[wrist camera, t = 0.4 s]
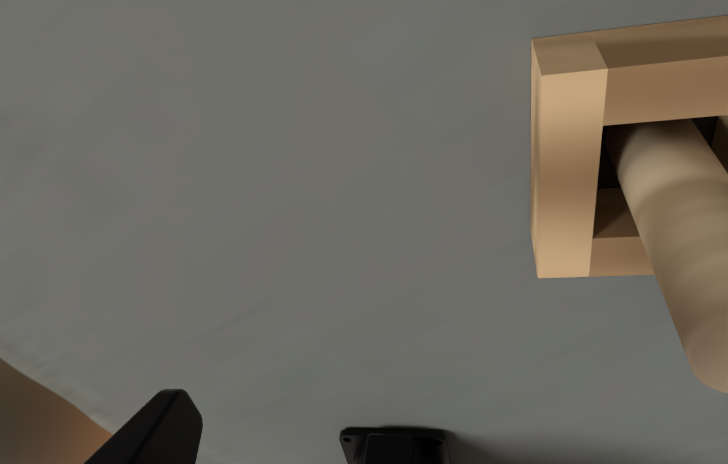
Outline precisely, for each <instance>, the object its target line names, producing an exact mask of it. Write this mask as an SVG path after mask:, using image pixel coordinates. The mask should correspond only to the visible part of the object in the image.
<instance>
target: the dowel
mask: <svg viewBox="0 0 728 464" xmlns="http://www.w3.org/2000/svg"><path fill="white" fill-rule="evenodd" d="M605 144H606V149H607V152H608V154H609V157H610V159H611V162H612V165H613V167H614V170H615V172H616V175H617V177H618V180H619V183H620V185H621V188H622V190H623V193H624V196H625V198H626V201H627V203H628V206H629V208H630V211H631V214H632V216H633V219H634V221H635V224H636V227H637V229H638V232H639V234H640V237H641V239H642V242H643V245H644V247H645V250H646V252H647V255H648V258H649V260H650V263H651V265H652V268H653V270H654V273H655V276H656V278H657V281H658V283H659V286H660V289H661V291H662V294H663V296H664V299H665V301H666V304H667V307H668V309H669V312H670V314H671V317H672V320H673V322H674V325H675V327H676V330H677V332H678V335H679V338H680V340H681V343H682V345H683V348H684V351H685V353H686V356H687V358H688V361H689V363H690V366H691V369H692V371H693V373H694V375H695V376H696V377H697V379H698V380H699V381H701V382H702V383H703V384H705V385H706V386H708V387H710V388H712V389H715V390H718V391H721V392H725V393H728V173H727V172H726V170H725V169H724V167H723V166H722V164H721V163H720V161H719V160H718V158H717V157H716V155H715V154H714V152H713V151H712V149H711V148H710V146H709V145H708V143H707V142H706V140H705V139H704V138H703V136H702V135H701V133H700V132H699V130H698V129H697V127H696V126H695V124H694V123H693V121H692V120H691V118H686V119H675V120H663V121H651V122H640V123H628V124H617V125H609V127H608V130H607V133H606V137H605Z"/></svg>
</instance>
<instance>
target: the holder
mask: <svg viewBox="0 0 728 464" xmlns="http://www.w3.org/2000/svg"><path fill="white" fill-rule="evenodd" d="M710 116H718V120H717V125H716V129H715V134H714V138H713V142H712V147H711V149H712V151H713V152H714V154H715V155H716V157H717V158H718V160H719V161H720V163H721V164H722V166H723V167H724V169H725V170H726V172H727V173H728V15H724V16H716V17H708V18H699V19H691V20H683V21H674V22H666V23H658V24H650V25H641V26H633V27H625V28H616V29H608V30H600V31H591V32H583V33H575V34H566V35H558V36H550V37H541V38H533V39H532V69H531V223H530V229H531V236H532V242H533V249H534V256H535V262H536V269H537V276H538V278H560V277H591V276H622V275H652V274H655V273H654V270H653V268H652V265H651V263H650V260H649V258H648V255H647V252H646V250H645V247H644V245H643V242H642V239H641V237H640V234H639V232H638V229H637V227H636V224H635V221H634V219H633V216H632V214H631V211H630V208H629V206H628V203H627V201H626V198H625V196H624V193H623V190H622V188H621V187H619V188H603V189H597V182H598V171H599V161H600V150H601V139H602V128H603V126H605V125H617V124H628V123H640V122H651V121H663V120H675V119H686V118H698V117H710Z"/></svg>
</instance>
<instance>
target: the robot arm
mask: <svg viewBox="0 0 728 464" xmlns="http://www.w3.org/2000/svg"><path fill="white" fill-rule="evenodd" d="M202 427H203V422H202V417H201V414H200V412H199V411H198V409H197V408H196V406H195V404H194V403H193V401H192V400H191V398H190V396H189V395H188V393H187V392H186V391H185V390H183V389H165V390H162V391H160V392H158V393H157V394H156V395H155V396H154V397H153V398H152V399H151V400H150V401H149V402H148V403H147V404H145V405H144V406H143V407H142V408H141V409H140V410H139V411H138V412H137V413H136V414H135V415H134V416H133V417H132V418H131V419H130V420H129V421H128V422H127V423H126V424H124V425H123V426H122V427H121V428H120V429H119V430H118V431H117V432H116V433H115V434H114V435H113V436H112V437H111V438H110V439H109V440H108V441H107V442H106V443H105V444H103V446H101V447H100V448H99V449H98V450H97V451H96V452H95V453H94V454H93V455H92V456H91V457H90V458H89V459H88V460H87V461H86V462H85V463H84V464H195V462H196V458H197V453H198V448H199V443H200V438H201V433H202ZM339 440H340V443H341V446H342V448H343V451H344V454H345V457H346V460H347V463H348V464H450V458H449V451H448V444H447V438H446V435H445V434H444V433H442V432H433V431H392V430H350V429H346V430H342V431H341V432H340V437H339Z"/></svg>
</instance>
